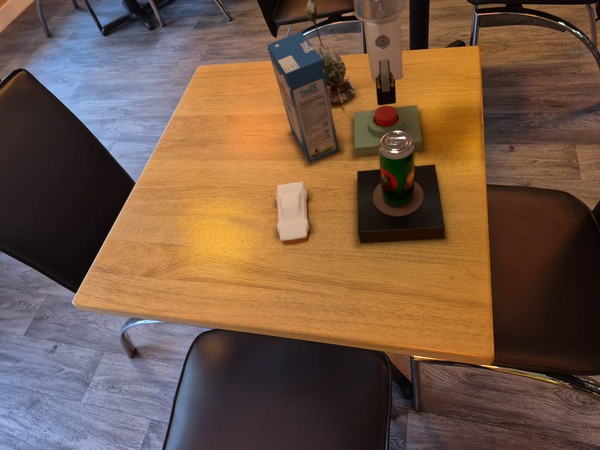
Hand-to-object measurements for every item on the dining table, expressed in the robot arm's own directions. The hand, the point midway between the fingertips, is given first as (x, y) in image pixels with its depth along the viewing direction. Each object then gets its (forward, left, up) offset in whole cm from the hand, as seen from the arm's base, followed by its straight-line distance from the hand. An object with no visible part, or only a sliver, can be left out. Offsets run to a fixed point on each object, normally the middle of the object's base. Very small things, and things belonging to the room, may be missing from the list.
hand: (386, 101), depth 77 cm
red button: (0, 0, -4) cm, 4 cm away
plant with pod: (+10, -14, -8) cm, 19 cm away
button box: (0, 0, -8) cm, 8 cm away
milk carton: (+14, 0, -8) cm, 16 cm away
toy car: (+17, +18, -8) cm, 26 cm away
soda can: (-1, +18, -5) cm, 19 cm away
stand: (-1, +18, -8) cm, 20 cm away
